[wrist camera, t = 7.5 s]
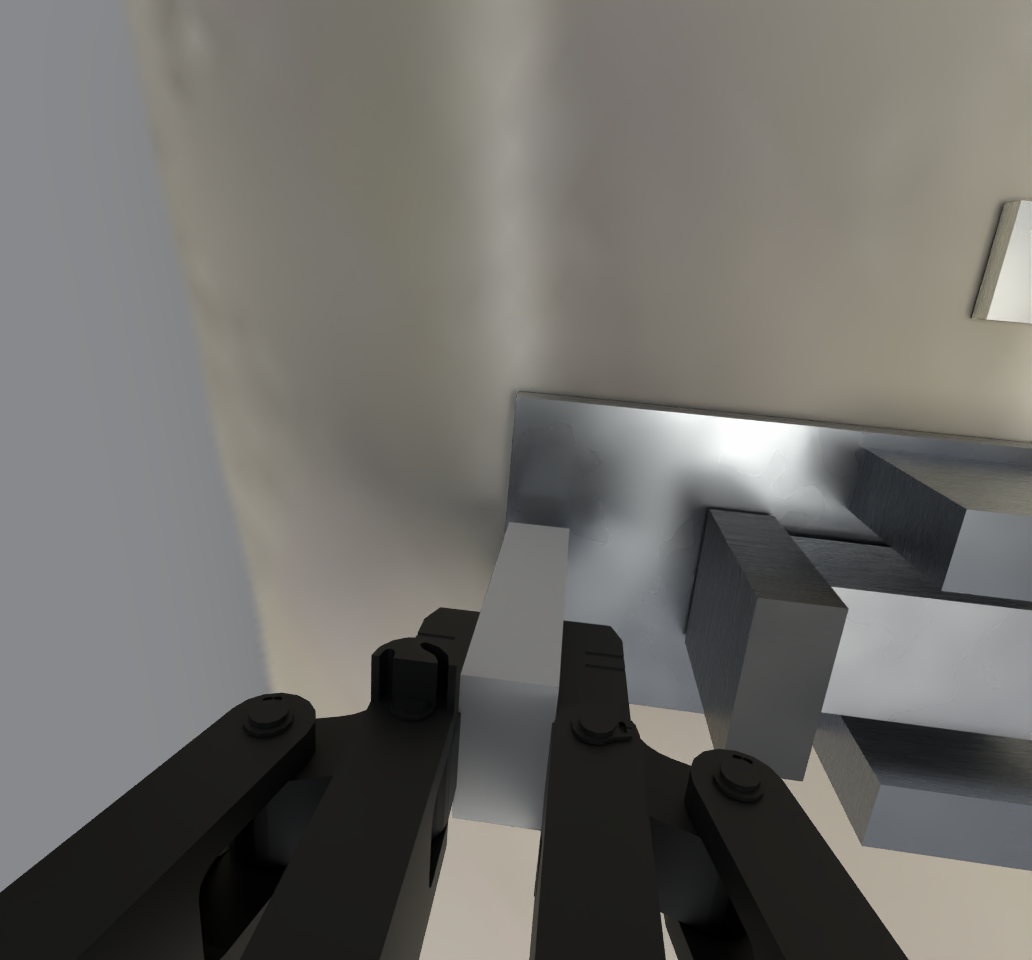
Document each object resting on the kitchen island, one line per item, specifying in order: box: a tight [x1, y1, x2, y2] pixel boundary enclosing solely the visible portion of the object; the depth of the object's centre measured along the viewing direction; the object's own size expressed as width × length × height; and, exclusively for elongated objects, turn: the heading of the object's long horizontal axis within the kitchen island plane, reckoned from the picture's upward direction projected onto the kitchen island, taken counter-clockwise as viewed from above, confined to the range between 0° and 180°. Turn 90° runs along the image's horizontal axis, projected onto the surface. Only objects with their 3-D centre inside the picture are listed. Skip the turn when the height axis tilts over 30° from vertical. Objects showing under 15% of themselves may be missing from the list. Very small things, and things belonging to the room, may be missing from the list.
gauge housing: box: [505, 200, 1032, 871], centre depth 14 cm, size 14×20×5 cm
